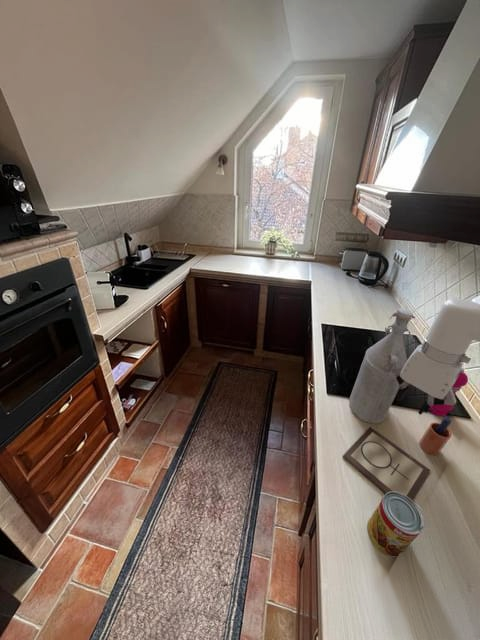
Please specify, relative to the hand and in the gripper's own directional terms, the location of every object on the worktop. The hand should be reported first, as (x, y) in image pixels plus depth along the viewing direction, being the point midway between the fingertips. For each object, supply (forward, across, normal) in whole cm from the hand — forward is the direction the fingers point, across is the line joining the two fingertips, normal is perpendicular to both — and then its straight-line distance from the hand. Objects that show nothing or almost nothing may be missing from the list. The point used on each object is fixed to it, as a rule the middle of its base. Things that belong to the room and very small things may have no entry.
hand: (410, 404), depth 68 cm
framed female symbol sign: (+21, -2, +4) cm, 21 cm away
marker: (+20, -8, -12) cm, 24 cm away
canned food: (+21, -10, +21) cm, 32 cm away
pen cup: (+21, -8, -12) cm, 25 cm away
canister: (+21, +12, -12) cm, 27 cm away
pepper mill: (+21, -4, -31) cm, 37 cm away
